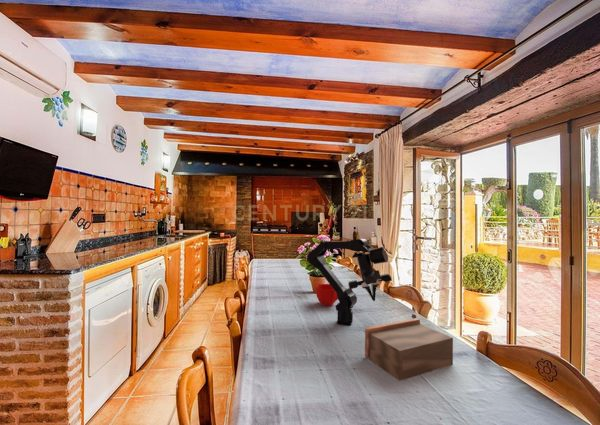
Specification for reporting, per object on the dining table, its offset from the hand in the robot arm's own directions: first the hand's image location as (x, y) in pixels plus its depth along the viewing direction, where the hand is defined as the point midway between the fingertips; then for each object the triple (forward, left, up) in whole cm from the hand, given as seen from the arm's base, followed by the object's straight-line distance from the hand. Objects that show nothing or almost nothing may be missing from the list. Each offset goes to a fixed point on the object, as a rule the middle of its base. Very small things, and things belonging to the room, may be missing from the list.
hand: (374, 300), depth 127 cm
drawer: (+12, -24, -12) cm, 30 cm away
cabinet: (+13, -26, -13) cm, 32 cm away
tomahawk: (+21, +15, -13) cm, 29 cm away
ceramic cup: (-25, +28, -13) cm, 40 cm away
